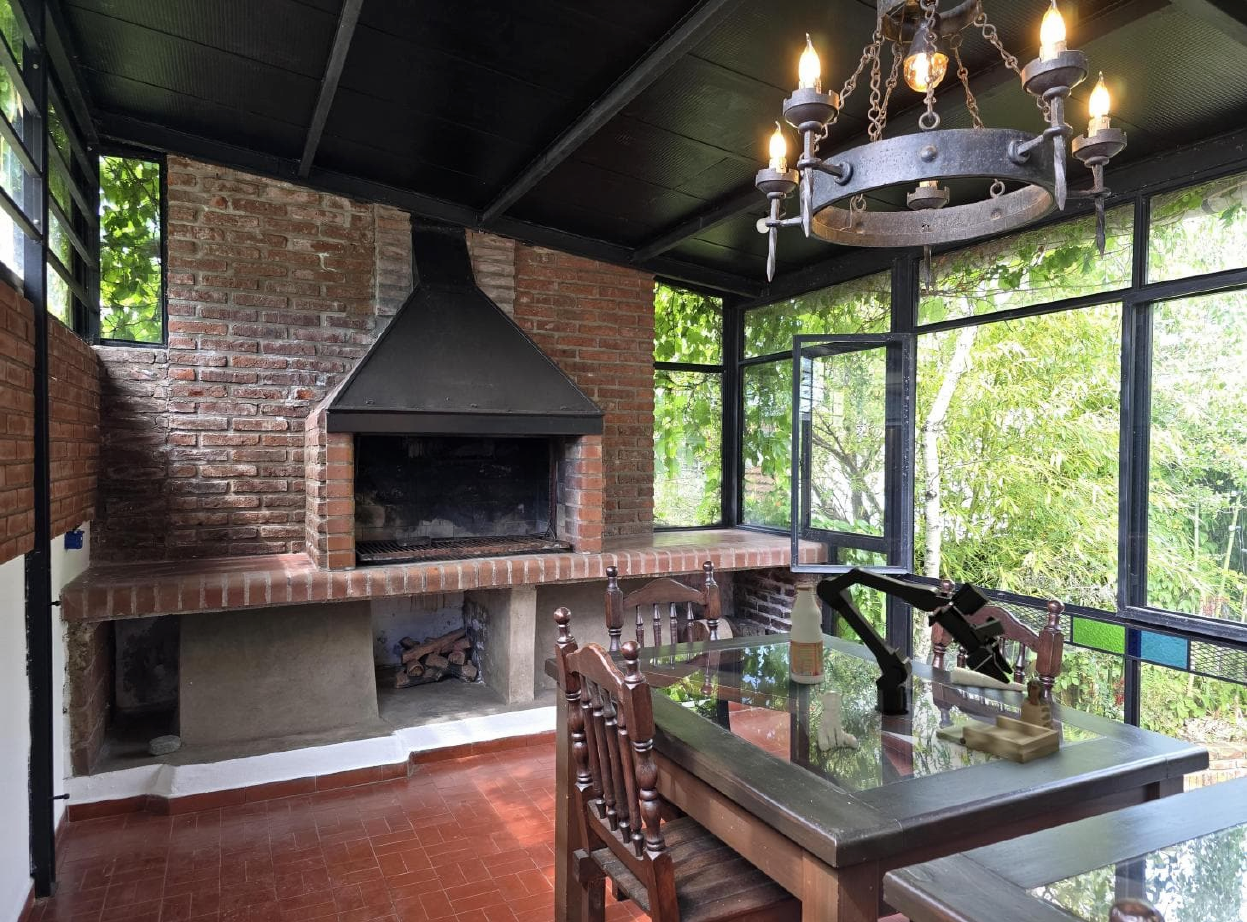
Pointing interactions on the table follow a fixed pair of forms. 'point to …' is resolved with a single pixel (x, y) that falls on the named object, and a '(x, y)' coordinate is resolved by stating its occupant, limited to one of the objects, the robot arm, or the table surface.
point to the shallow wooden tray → (1004, 738)
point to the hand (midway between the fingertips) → (1010, 678)
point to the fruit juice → (806, 638)
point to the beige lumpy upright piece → (833, 724)
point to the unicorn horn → (982, 680)
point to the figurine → (1036, 706)
